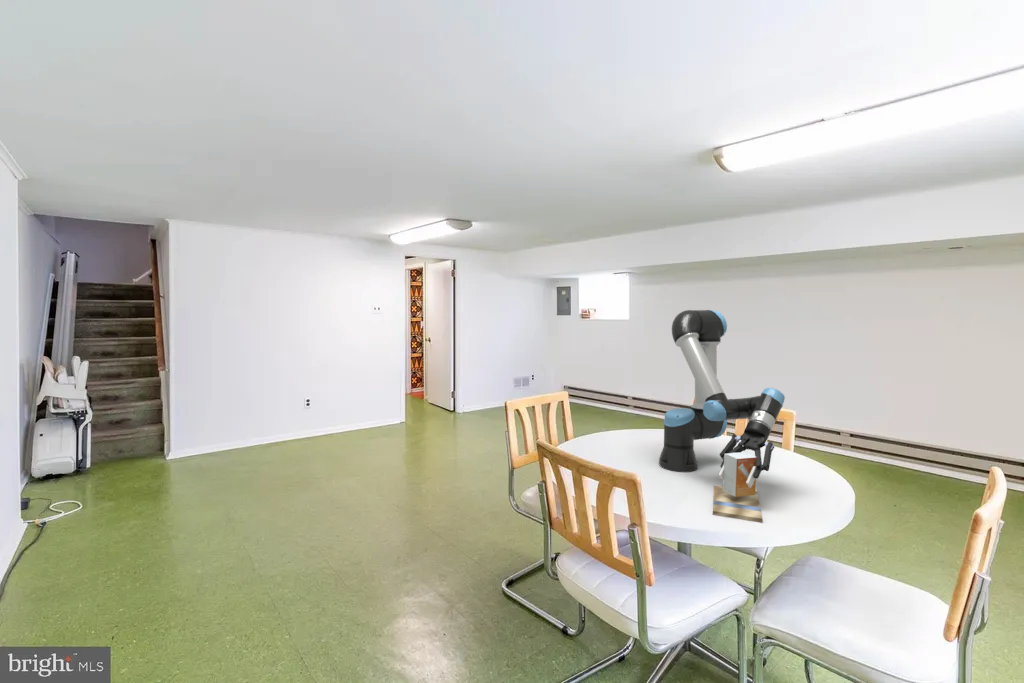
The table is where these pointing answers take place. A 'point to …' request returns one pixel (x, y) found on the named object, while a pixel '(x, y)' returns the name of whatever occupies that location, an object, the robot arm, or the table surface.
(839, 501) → the table surface
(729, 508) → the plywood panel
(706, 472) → the table surface
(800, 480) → the table surface
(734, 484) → the small box
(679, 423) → the robot arm
